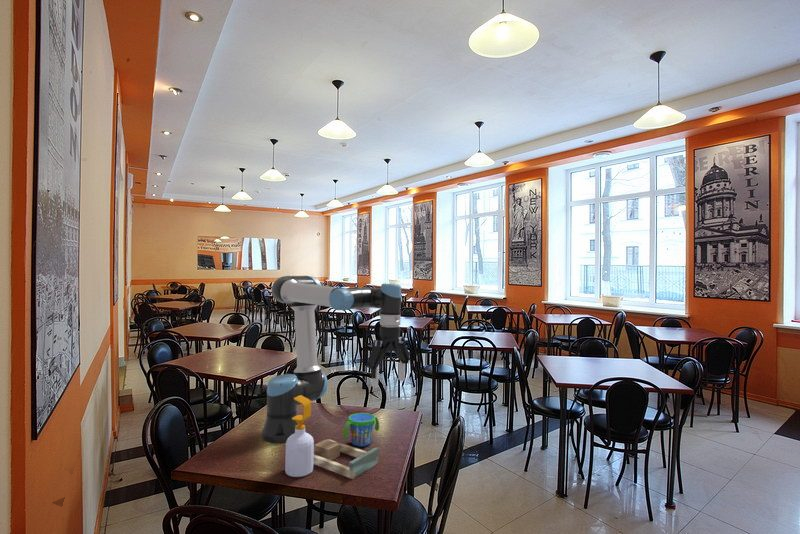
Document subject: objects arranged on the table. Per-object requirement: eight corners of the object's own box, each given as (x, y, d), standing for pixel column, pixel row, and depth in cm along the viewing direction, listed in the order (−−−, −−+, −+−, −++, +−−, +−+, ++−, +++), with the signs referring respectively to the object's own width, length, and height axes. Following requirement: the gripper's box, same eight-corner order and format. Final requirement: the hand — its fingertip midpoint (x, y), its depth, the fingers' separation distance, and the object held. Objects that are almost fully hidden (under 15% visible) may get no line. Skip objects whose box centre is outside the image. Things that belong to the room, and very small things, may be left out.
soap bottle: (296, 462, 142) (297, 391, 142) (318, 467, 138) (319, 395, 139) (279, 474, 134) (281, 399, 134) (302, 480, 130) (304, 402, 130)
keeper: (313, 457, 147) (314, 444, 147) (325, 451, 152) (326, 439, 152) (328, 462, 143) (328, 449, 143) (339, 456, 148) (340, 444, 148)
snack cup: (372, 434, 167) (372, 409, 168) (385, 443, 159) (386, 417, 159) (337, 442, 159) (337, 416, 159) (349, 453, 150) (349, 425, 150)
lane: (300, 459, 145) (300, 444, 145) (328, 445, 156) (328, 432, 156) (352, 479, 131) (353, 463, 131) (378, 462, 143) (378, 448, 143)
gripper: (371, 330, 138) (369, 392, 138) (420, 324, 156) (418, 379, 156) (357, 327, 144) (355, 387, 144) (406, 322, 161) (404, 375, 161)
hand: (388, 383), depth 150 cm, fingers open, 13 cm apart
